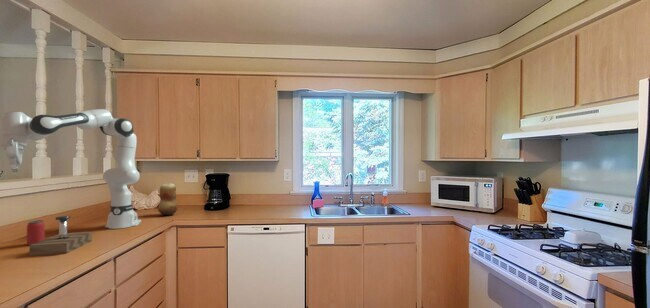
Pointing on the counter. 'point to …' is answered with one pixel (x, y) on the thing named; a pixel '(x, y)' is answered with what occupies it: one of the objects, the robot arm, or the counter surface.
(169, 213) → the butternut squash
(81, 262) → the counter surface
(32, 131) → the robot arm
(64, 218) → the steel peg
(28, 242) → the beer can
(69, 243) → the brown flat block
